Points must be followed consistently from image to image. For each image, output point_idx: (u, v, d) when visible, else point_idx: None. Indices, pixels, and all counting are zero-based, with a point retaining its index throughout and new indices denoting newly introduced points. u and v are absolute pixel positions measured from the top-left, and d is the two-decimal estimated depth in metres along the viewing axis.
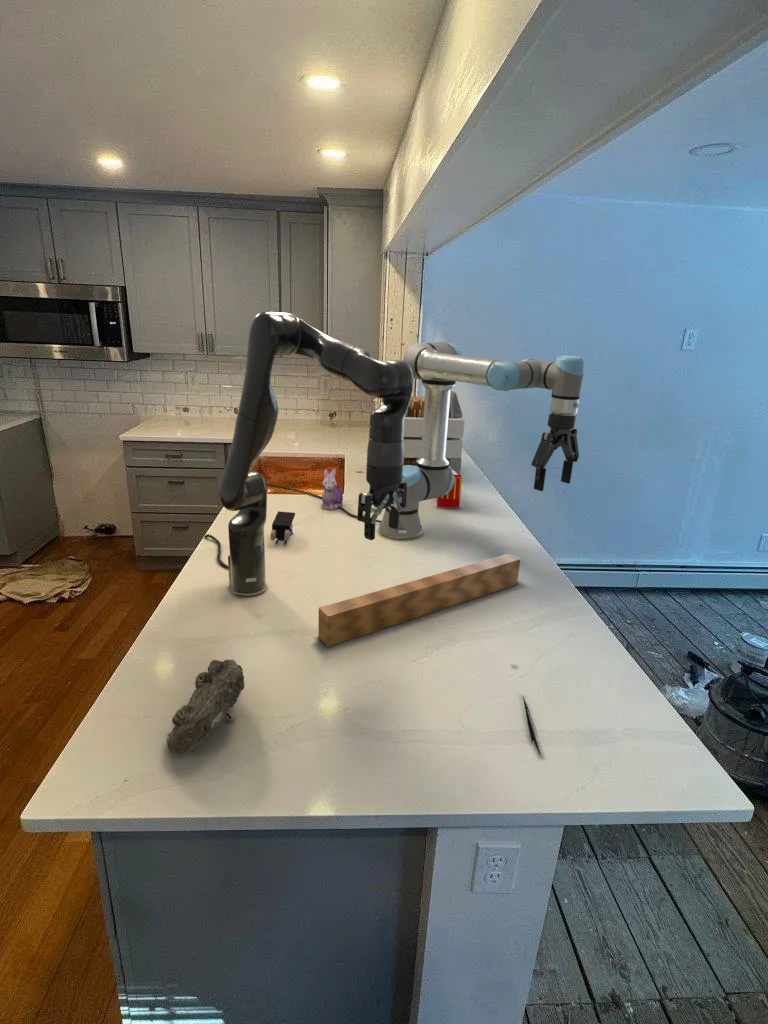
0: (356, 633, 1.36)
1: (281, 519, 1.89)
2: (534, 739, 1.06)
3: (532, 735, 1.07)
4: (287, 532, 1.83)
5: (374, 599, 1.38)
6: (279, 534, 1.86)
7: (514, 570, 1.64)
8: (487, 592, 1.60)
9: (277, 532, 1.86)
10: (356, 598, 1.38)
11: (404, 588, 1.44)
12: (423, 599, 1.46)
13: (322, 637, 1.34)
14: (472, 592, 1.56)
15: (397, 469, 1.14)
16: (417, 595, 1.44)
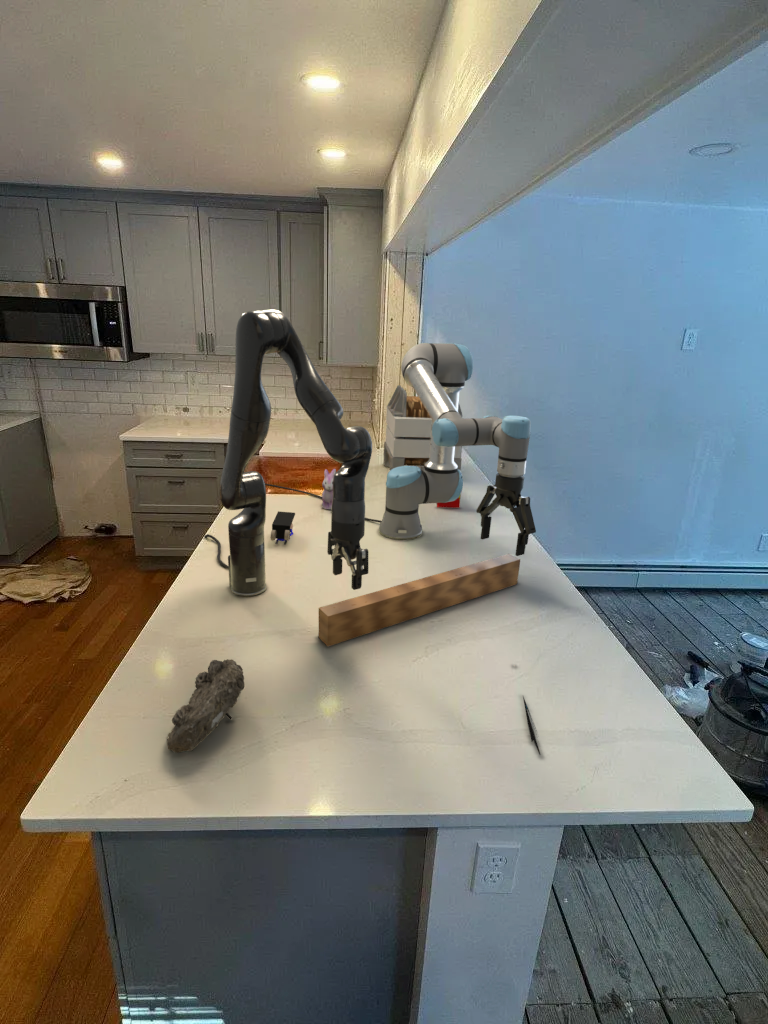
0: (356, 633, 1.36)
1: (281, 519, 1.89)
2: (534, 739, 1.06)
3: (532, 735, 1.07)
4: (287, 532, 1.83)
5: (374, 599, 1.38)
6: (279, 534, 1.86)
7: (514, 570, 1.64)
8: (487, 592, 1.60)
9: (277, 532, 1.86)
10: (356, 598, 1.38)
11: (404, 588, 1.44)
12: (423, 599, 1.46)
13: (322, 637, 1.34)
14: (472, 592, 1.56)
15: None
16: (417, 595, 1.44)
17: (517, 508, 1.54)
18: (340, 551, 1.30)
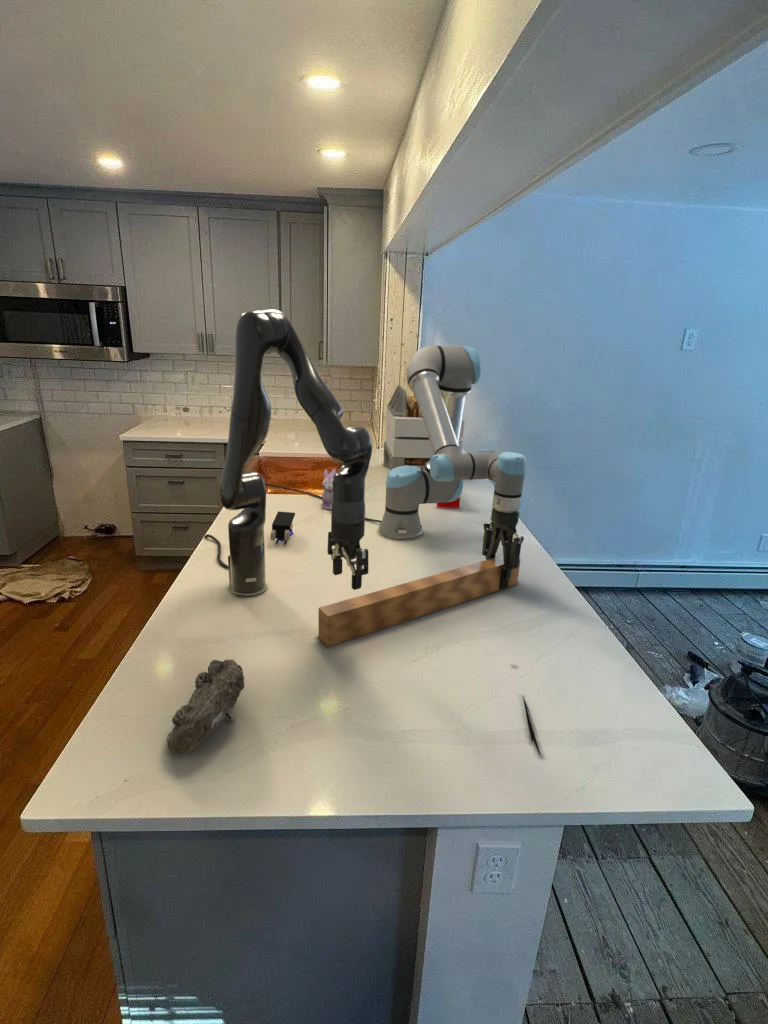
0: (356, 633, 1.36)
1: (281, 519, 1.89)
2: (534, 739, 1.06)
3: (532, 735, 1.07)
4: (287, 532, 1.83)
5: (374, 599, 1.38)
6: (279, 534, 1.86)
7: (514, 570, 1.64)
8: (487, 592, 1.60)
9: (277, 532, 1.86)
10: (356, 598, 1.38)
11: (404, 588, 1.44)
12: (423, 599, 1.46)
13: (322, 637, 1.34)
14: (472, 592, 1.56)
15: None
16: (417, 595, 1.44)
17: (508, 544, 1.58)
18: (340, 551, 1.30)
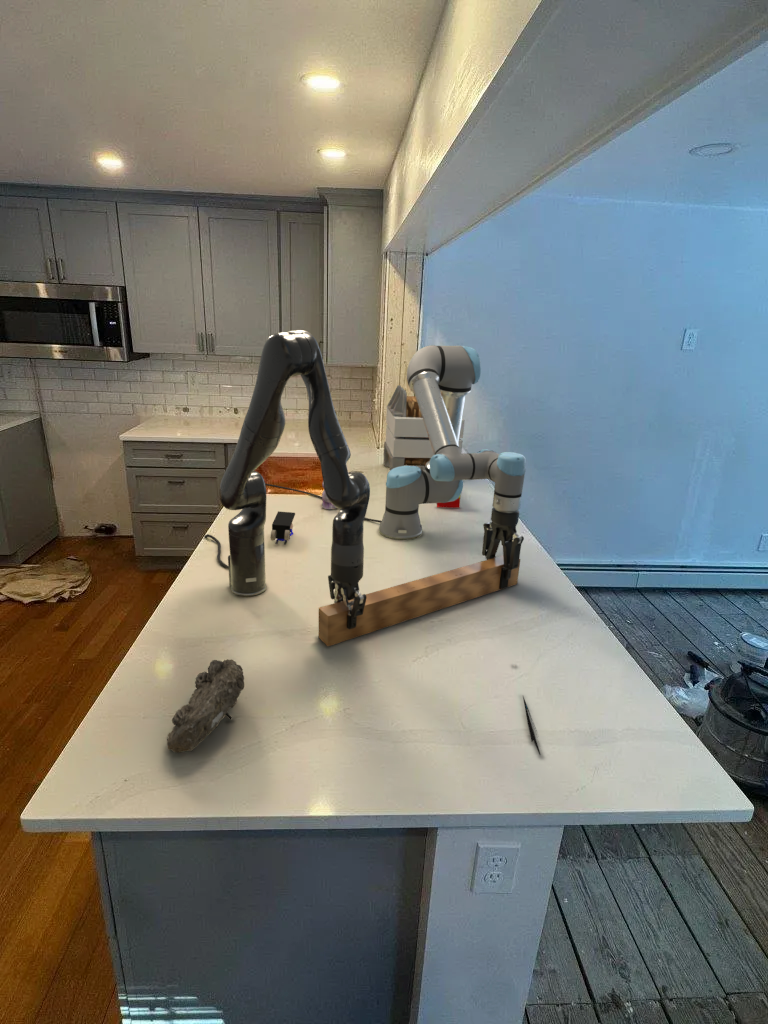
0: (356, 633, 1.36)
1: (281, 519, 1.89)
2: (534, 739, 1.06)
3: (532, 735, 1.07)
4: (287, 532, 1.83)
5: (374, 599, 1.38)
6: (279, 534, 1.86)
7: (514, 570, 1.64)
8: (487, 592, 1.60)
9: (277, 532, 1.86)
10: None
11: (404, 588, 1.44)
12: (423, 599, 1.46)
13: (322, 637, 1.34)
14: (472, 592, 1.56)
15: None
16: (417, 595, 1.44)
17: (508, 544, 1.58)
18: (339, 591, 1.34)
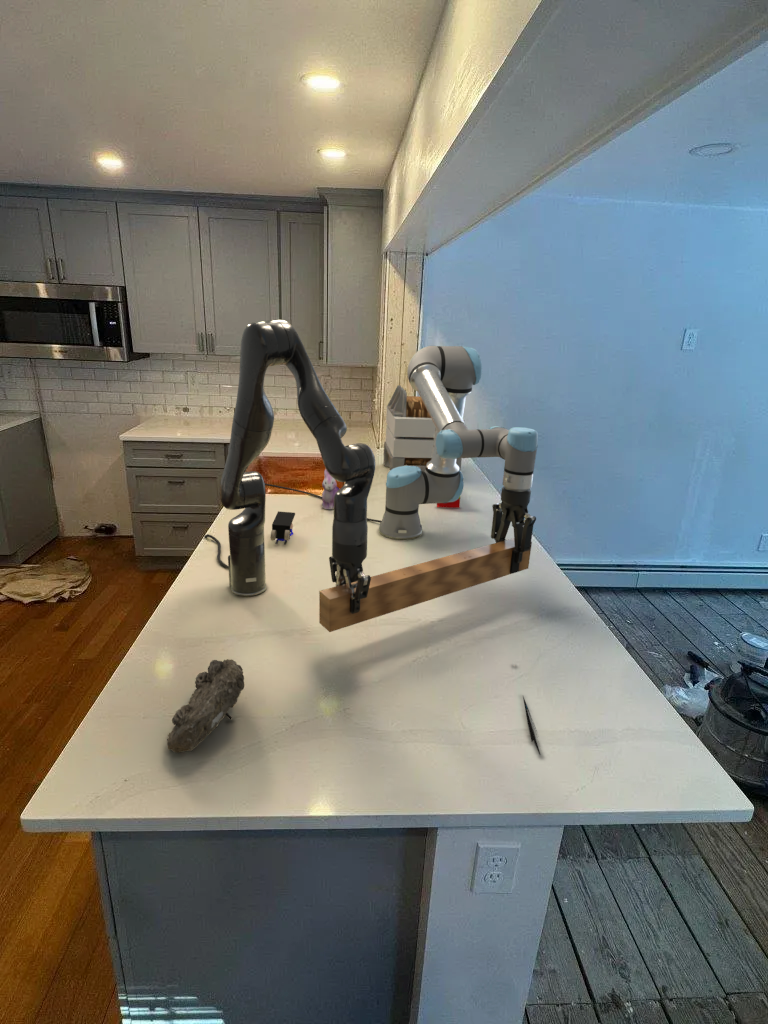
0: (360, 618, 1.27)
1: (281, 519, 1.89)
2: (534, 739, 1.06)
3: (532, 735, 1.07)
4: (287, 532, 1.83)
5: (378, 582, 1.29)
6: (279, 534, 1.86)
7: (525, 553, 1.55)
8: (497, 576, 1.51)
9: (277, 532, 1.86)
10: None
11: (410, 571, 1.35)
12: (431, 583, 1.37)
13: (324, 623, 1.25)
14: (481, 576, 1.47)
15: None
16: (424, 578, 1.35)
17: (519, 525, 1.50)
18: (341, 573, 1.25)
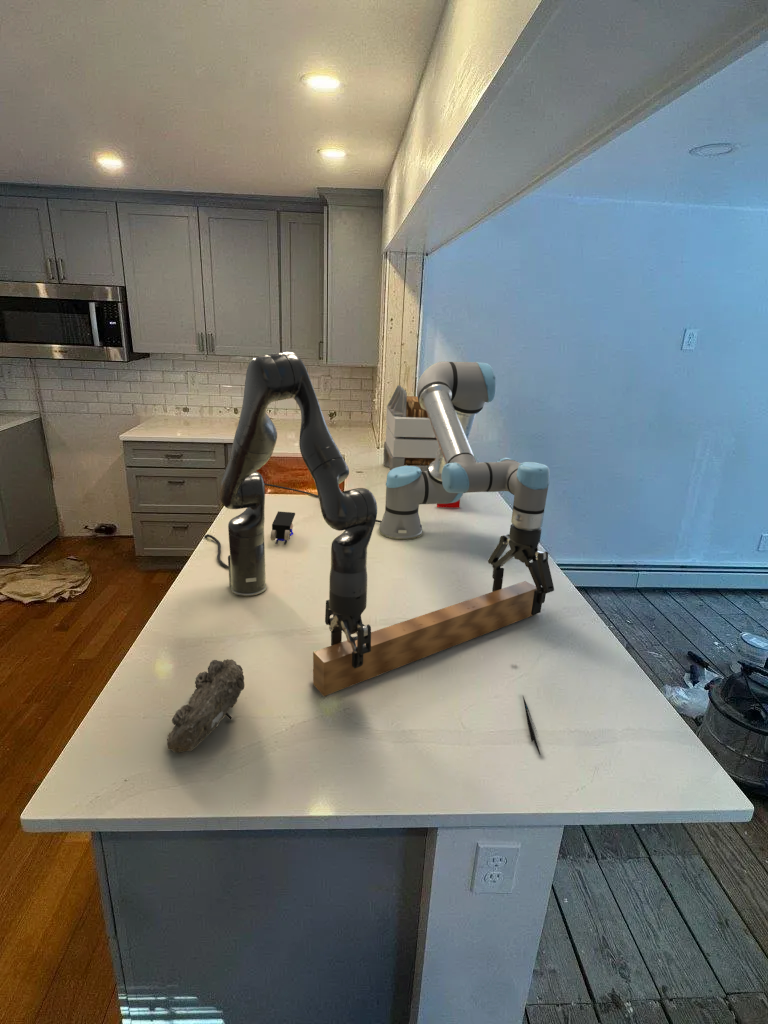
0: (356, 679, 1.19)
1: (281, 519, 1.89)
2: (534, 739, 1.06)
3: (532, 735, 1.07)
4: (287, 532, 1.83)
5: (376, 640, 1.21)
6: (279, 534, 1.86)
7: (532, 600, 1.47)
8: (502, 625, 1.43)
9: (277, 532, 1.86)
10: None
11: (410, 625, 1.27)
12: (432, 637, 1.29)
13: (318, 685, 1.17)
14: (486, 626, 1.39)
15: None
16: (425, 633, 1.27)
17: (533, 563, 1.40)
18: (339, 624, 1.16)
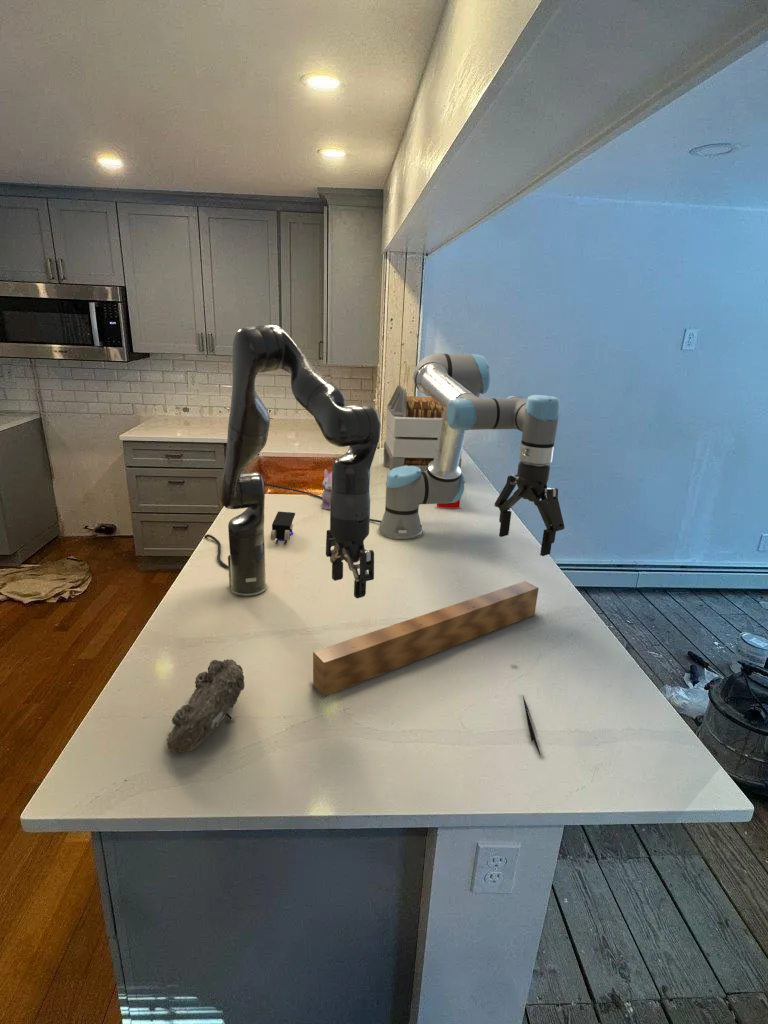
0: (356, 679, 1.19)
1: (281, 519, 1.89)
2: (534, 739, 1.06)
3: (532, 735, 1.07)
4: (287, 532, 1.83)
5: (376, 640, 1.21)
6: (279, 534, 1.86)
7: (532, 600, 1.47)
8: (502, 625, 1.43)
9: (277, 532, 1.86)
10: (356, 639, 1.21)
11: (410, 625, 1.27)
12: (432, 637, 1.29)
13: (318, 685, 1.17)
14: (486, 626, 1.39)
15: None
16: (425, 633, 1.27)
17: (542, 501, 1.34)
18: (340, 553, 1.11)
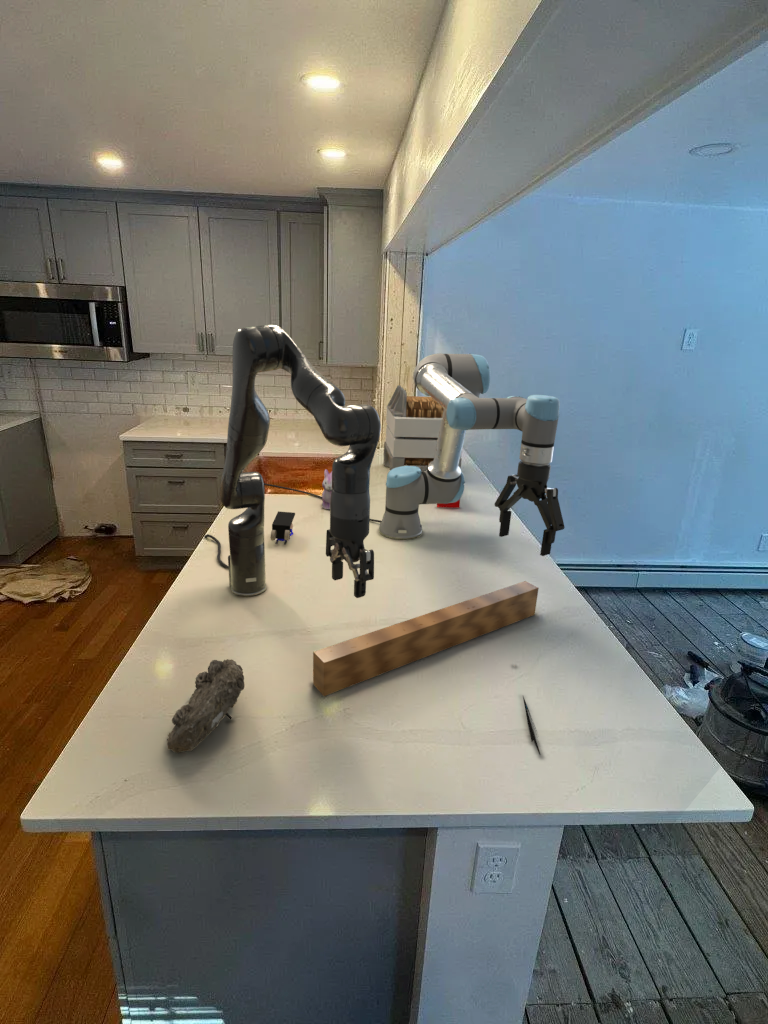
0: (356, 679, 1.19)
1: (281, 519, 1.89)
2: (534, 739, 1.06)
3: (532, 735, 1.07)
4: (287, 532, 1.83)
5: (376, 640, 1.21)
6: (279, 534, 1.86)
7: (532, 600, 1.47)
8: (502, 625, 1.43)
9: (277, 532, 1.86)
10: (356, 639, 1.21)
11: (410, 625, 1.27)
12: (432, 637, 1.29)
13: (318, 685, 1.17)
14: (486, 626, 1.39)
15: None
16: (425, 633, 1.27)
17: (542, 501, 1.34)
18: (340, 552, 1.11)
